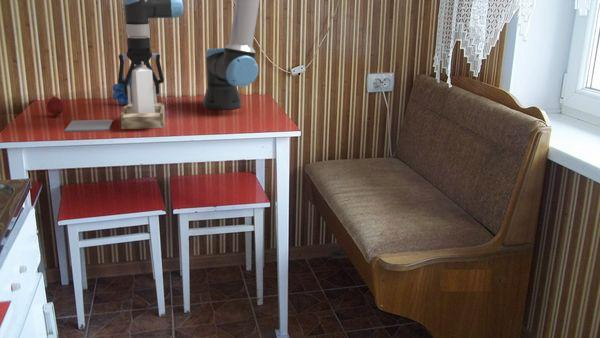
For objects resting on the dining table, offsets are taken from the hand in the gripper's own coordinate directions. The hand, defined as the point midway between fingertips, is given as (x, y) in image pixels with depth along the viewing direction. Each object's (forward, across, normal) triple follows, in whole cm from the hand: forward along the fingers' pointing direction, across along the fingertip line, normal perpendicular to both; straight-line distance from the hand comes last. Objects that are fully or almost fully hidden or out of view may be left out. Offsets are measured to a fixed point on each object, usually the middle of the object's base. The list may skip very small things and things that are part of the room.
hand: (142, 103), depth 211 cm
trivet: (+7, +18, +2) cm, 19 cm away
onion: (+7, +32, -15) cm, 36 cm away
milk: (+7, 0, 0) cm, 7 cm away
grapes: (+7, +8, -33) cm, 35 cm away
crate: (+7, 0, 0) cm, 7 cm away
